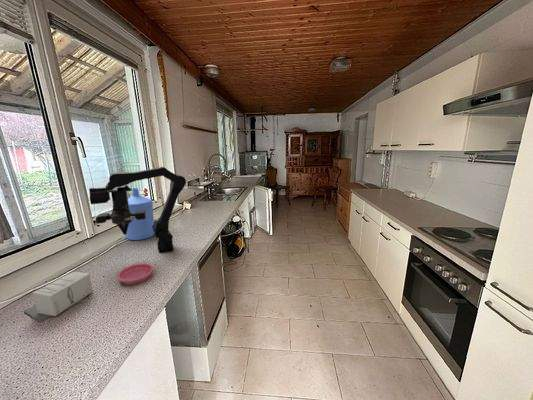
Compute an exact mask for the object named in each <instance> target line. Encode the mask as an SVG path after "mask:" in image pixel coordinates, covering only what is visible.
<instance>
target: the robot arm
mask: <svg viewBox="0 0 533 400" xmlns="http://www.w3.org/2000/svg"><path fill="white" fill-rule="evenodd" d="M108 177H109V178H108V183H107V184H105V186H103V187H89V189H88V190H89V203H90V205H100V204H108V202H109V201H112V210H111V213H109V212H108V213H107V212H105V213H100V214H98V215H97V216H96V217H95V223H96V224H103V223H104V224H105V223H106V222H107V221H109V220H111V222H112V223H111V224H113V225H116V226H117V227H118V228H119V230H120V231H121V232H122V235H126V234H127V230H128V226H129V223H130V222H132V220H133V219H134V217H135V218H136V219H137V220H141V219H146V217H147V212H146V211H145V210H143V211H137V212H136V213H132V214H131V212H130V210H129V202H128V198H129V197H128V192H131V191H132V187H129V186H128V184H129V185H130V184H131V183H134V182H136V181H137V182H138V181H142V180H143V181H144V180H147V179H153V178H158V177H164V178H166V180H169V181H170V182H169V183H170V184H169V192H168V195H167V198H166V201H165V203H164V206H163V208H162V211H161V213H160V217H159V218H158V219H154V225H153V226H152V228H153V232H154V236H155V237H156V238H157V240H158V241H157V243H156V245H157V251H158V253H159V254H161V253H167V252H174V243H173V238H174V236H173V234H172V233H171V232H170V230H169V228H170V227H169V224H170V223H169V222H170V220H171V216H172V213H173V211H174V207H175V205H176V202H177V201H178V197H179V194H180V193H181V192H182V191H183V189H184V188H185V186H186V184H187V180H186V178H185V176H183V175H180V174H175V173H173V172H171V171H170V170H168V169H167V168H166V167H164V166H159V167H156V168H150V169H144V170H138V171H133V172H132V171H130V172H129V171H121V172H120V171H119V172H117V171H115V172H113V173H110V175H109V176H108ZM110 194H111V195H110Z"/></svg>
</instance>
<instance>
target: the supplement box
mask: <svg viewBox="0 0 533 400" xmlns="http://www.w3.org/2000/svg"><path fill="white" fill-rule="evenodd" d="M93 292H94V289H93V285H92V280H91V274H90V273H86V272H80V271H79V272H78V271H73V272H70V273H68V274H66V275H64V276H63V277H60V278H58V279H57V280H54V281H53V282H51V283H49V284H47V285H45V286H43V287H41V288H39V289H37V290H35V291H33V292H32V297H33V300H34V303H35V304H34V306H35V305H36V308H37V312H38V313H40V314H45V315H51V317H56V316H58V315H59V314H61V313H62V312H64V311H65V310H67V309H69V308H70V307H72V306H73V304H74V305H75V303H76V302H77V303H79V302H80V301H79V300H81V299H82V298H84V297H87V296H89V295H90V294H91V293H93ZM78 301H79V302H78ZM81 301H82V300H81ZM77 303H76V304H77Z"/></svg>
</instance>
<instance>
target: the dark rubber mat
mask: <svg viewBox="0 0 533 400" xmlns="http://www.w3.org/2000/svg"><path fill="white" fill-rule="evenodd" d="M86 298H87V296H85V297H84V298H82V299H81V300H79V301H78V302H76V303H75V304H77V303H79V302H81V301H83V300H85V299H86ZM75 304H73V305H75ZM73 305H72V306H73ZM23 312H24V313H25V314H27V315H28V316H30V317H31V318H33V319H34V320H36V321H37V322H39V323H42V322H44V321H45V320H47V319H49V318H51V317H52V316H51V315H45V314H40V313H38V312H37V308H36V305H35V304H34V305H33V306H31V307H30V308H27V309H26V310H23Z"/></svg>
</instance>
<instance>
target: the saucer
mask: <svg viewBox="0 0 533 400" xmlns="http://www.w3.org/2000/svg"><path fill="white" fill-rule="evenodd" d="M153 272H154V266H153V265H151V264H149V263H136V264H131V265H130V266H126V267H124V268H123V269H121V270H120V271H119V272H118V273H117V275H116V278H117V281H118V282H120V283H122V284H124V285H128V286H131V285H132V286H133V285H137V284H141V283H143V282H145V281H147V279H149V277H150V276H151V275H152V274H153Z"/></svg>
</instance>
